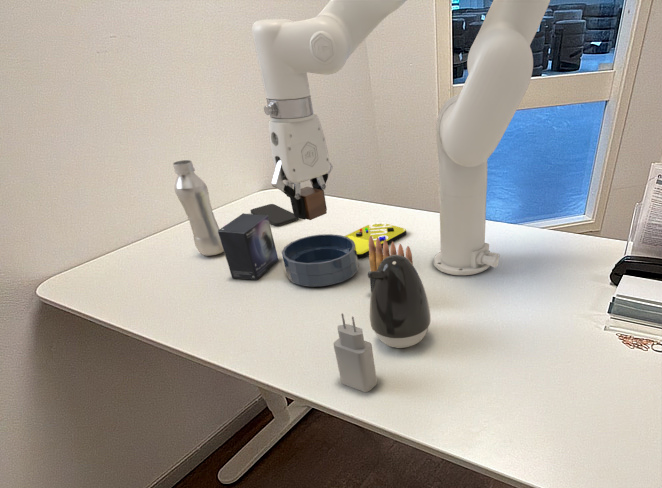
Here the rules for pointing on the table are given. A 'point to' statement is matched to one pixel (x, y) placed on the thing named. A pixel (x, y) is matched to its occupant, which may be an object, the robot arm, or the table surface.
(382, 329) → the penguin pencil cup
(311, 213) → the block
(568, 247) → the table surface
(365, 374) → the power adapter
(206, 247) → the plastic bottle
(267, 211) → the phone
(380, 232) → the yellow toy board
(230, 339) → the table surface
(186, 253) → the table surface
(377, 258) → the ammunition clip
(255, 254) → the small box
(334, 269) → the bowl
